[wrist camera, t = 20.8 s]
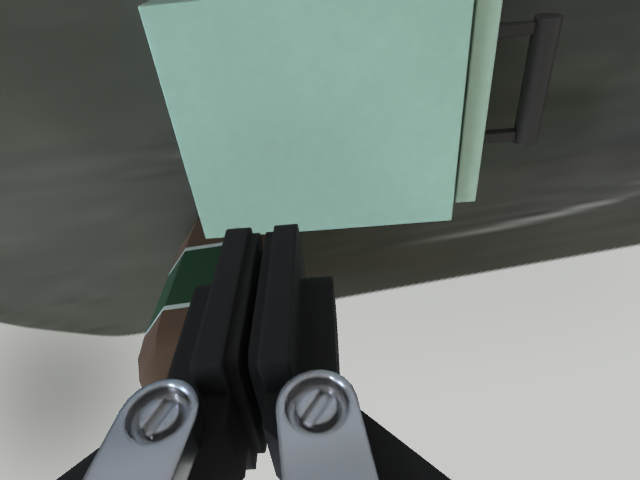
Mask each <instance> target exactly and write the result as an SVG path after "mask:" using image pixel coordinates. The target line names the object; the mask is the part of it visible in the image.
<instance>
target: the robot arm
mask: <svg viewBox="0 0 640 480" xmlns="http://www.w3.org/2000/svg"><path fill="white" fill-rule="evenodd" d="M267 444H268V448H269V451H270V455H271V458H272V462H273V465H274V468H275V472H276V476H277V477H278V478H279V479H280V480H450V479H449V478H448V477H447V476H445V475H444V474H443V473H442V472H440V471H439V470H438V469H436V468H435V467H434V466H432V465H431V464H430V463H429V462H427V461H426V460H425V459H423V458H422V457H421V456H420V455H418V454H417V453H416V452H414V451H413V450H412V449H410V448H409V447H408V446H407V445H405V444H404V443H403V442H401V441H400V440H399V439H398V438H396V437H395V436H393V435H392V434H391V433H390V432H389V431H387V430H386V429H385V428H383V427H382V426H381V425H379V424H378V423H377V422H375V421H374V420H373V419H372V418H370V417H369V416H368V415H367V414H365V413H364V412H363V411H361V410H360V406H359V402H358V398H357V395H356V393H355V391H354V389H353V386H352V385H351V384H350V383H349V382H348V381H347V380H346V379H345V378H344V377H343V376H341V375H340V372H339V353H338V334H337V319H336V305H335V294H334V283H333V276H325V277H311V278H306V277H305V270H304V262H303V255H302V248H301V241H300V234H299V227H298V224H287V225H275V226H274V231H273V232H266V234H265V241H264V248H263V243H262V238H261V234H260V233H253V232H252V229H251V228H250V227H248V228H235V229H227V230H226V232H225V236H224V240H223V243H222V247H221V251H220V254H219V258H218V262H217V265H216V269H215V273H214V276H213V280H212V284H211V285H199V286H197V287H196V288H195V290H194V292H193V295H192V299H191V302H190V305H189V308H188V311H187V315H186V318H185V321H184V324H183V327H182V331H181V334H180V337H179V340H178V343H177V347H176V350H175V353H174V356H173V359H172V363H171V366H170V369H169V372H168V375H167V379H162V380H159V381H156V382H152V383H149V384H148V385H146V386H144V387H142V388H141V389H139V390H138V391H136V392H135V393H134V394H133V395H132V396H131V397H130V398H129V399H128V400H127V401H126V403H125V404H124V405H123V407H122V408H121V410H120V411H119V413H118V415H117V417H116V419H115V421H114V422H113V424H112V426H111V428H110V430H109V432H108V433H107V435H106V437H105V439H104V441H103V443H102V445H101V446H100V448H98V449H97V450H96V451H94V452H93V453H92V454H90V455H89V456H88V457H86V458H85V459H83V460H82V461H81V462H79V463H78V464H77V465H76V466H74V467H73V468H71V469H70V470H69V471H68V472H66V473H65V474H63V475H62V476H61V477H59V478H58V479H57V480H243V478H244V477H245V471H246V470H248V469H256V462H257V453H265V451H266V446H267Z"/></svg>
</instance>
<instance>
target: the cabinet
mask: <svg viewBox="0 0 640 480" xmlns="http://www.w3.org/2000/svg"><path fill="white" fill-rule="evenodd" d="M473 8H474V0H149V1H147V2H146V3H143V4H141V5H140V6H138V9H139V12H140V15H141V19H142V22H143V26H144V29H145V33H146V36H147V39H148V43H149V46H150V50H151V53H152V56H153V60H154V63H155V67H156V70H157V74H158V77H159V80H160V84H161V87H162V91H163V94H164V98H165V101H166V104H167V108H168V111H169V115H170V118H171V121H172V125H173V128H174V132H175V135H176V139H177V142H178V145H179V149H180V152H181V156H182V159H183V163H184V166H185V169H186V173H187V176H188V180H189V183H190V186H191V190H192V193H193V197H194V200H195V204H196V207H197V210H198V214H199V217H200V221H201V224H202V227H203V231H204V234H205V238H206V239H209V238H222V237H224V236H225V232H226V230H227V229H235V228H248V227H250V228H251V229H252V232H253V233H260V234H266V232H273V231H274V226H275V225H287V224H298V227H299V232H301V231H314V230H328V229H341V228H354V227H367V226H380V225H394V224H407V223H420V222H433V221H446V220H452V211H453V201H454V192H455V182H456V172H457V163H458V153H459V143H460V134H461V124H462V114H463V105H464V95H465V85H466V76H467V66H468V56H469V47H470V37H471V27H472V18H473Z"/></svg>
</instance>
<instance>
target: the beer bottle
mask: <svg viewBox="0 0 640 480" xmlns="http://www.w3.org/2000/svg"><path fill="white" fill-rule="evenodd" d="M261 238H262V243H263V248H264V241H265V234H261ZM223 240H224V237H222V238H209V239H206V238H205V234H204V231H203V227H202V224H201V221H200V218H198V219H197V221H196V223H195V224H194V226H193V227H192V229H191V230H190V232H189V233H188V235H187V236H186V238H185V240H184V241H183V243H182V245H181V247H180V249H179V251H178V253H177V255H176V258H175V260H174V263H173V265H172V268H171V271H170V273H169V276H168V278H167V281H166V283H165V286H164V288H163V291H162V293H161V296H160V299H159V301H158V304H157V306H156V309H155V311H154V314H153V316H152V319H151V322H150V324H149V327H148V329H147V332H146V334H145V337H144V340H143V344H142V348H141V351H140V355H139V358H138V365H139V380H140V383H141V386H142V387H144V386H146V385H148V384H149V383H152V382H156V381H159V380H162V379H167V375H168V372H169V369H170V366H171V363H172V359H173V356H174V353H175V350H176V347H177V343H178V340H179V337H180V334H181V331H182V327H183V324H184V321H185V318H186V315H187V311H188V308H189V305H190V302H191V299H192V295H193V292H194V290H195V288H196V287H197V286H199V285H211V284H212V280H213V276H214V273H215V269H216V265H217V262H218V258H219V254H220V251H221V247H222V243H223Z"/></svg>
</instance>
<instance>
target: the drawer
mask: <svg viewBox="0 0 640 480" xmlns="http://www.w3.org/2000/svg"><path fill="white" fill-rule="evenodd" d="M502 2H503V0H474V8H473V18H472V27H471V37H470V47H469V56H468V66H467V76H466V85H465V95H464V105H463V114H462V124H461V134H460V143H459V153H458V163H457V172H456V182H455V192H454V200H455V202H469V201H475V200H476V192H477V185H478V178H479V170H480V163H481V156H482V148H483V143H493V142H505V141H513V142H514V143H515V144H518V145H522V146H530V145H534V144H536V142H537V139H538V134H539V129H540V124H541V120H542V115H543V110H544V105H545V101H546V96H547V91H548V87H549V82H550V77H551V72H552V68H553V63H554V58H555V53H556V49H557V44H558V39H559V35H560V30H561V25H562V20H563V15H561V14H557V13H542V14H537V15H535V16H534V18H533V21H531V20H530V21H520V22H509V23H500V17H501V9H502ZM524 35H530V41H529V47H528V52H527V58H526V64H525V69H524V75H523V81H522V86H521V92H520V98H519V103H518V109H517V115H516V120H515V126H514V129H513V128H509V129H497V130H485V127H486V119H487V112H488V105H489V97H490V90H491V83H492V75H493V68H494V61H495V53H496V46H497V39H498V38H502V37H513V36H524Z"/></svg>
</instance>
